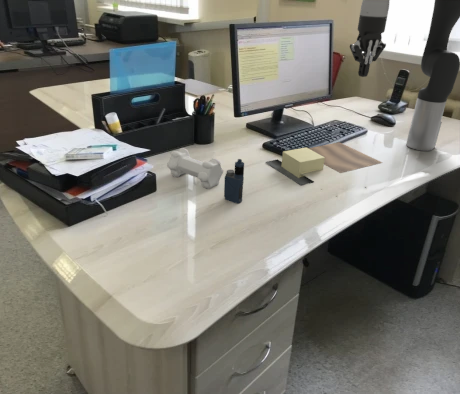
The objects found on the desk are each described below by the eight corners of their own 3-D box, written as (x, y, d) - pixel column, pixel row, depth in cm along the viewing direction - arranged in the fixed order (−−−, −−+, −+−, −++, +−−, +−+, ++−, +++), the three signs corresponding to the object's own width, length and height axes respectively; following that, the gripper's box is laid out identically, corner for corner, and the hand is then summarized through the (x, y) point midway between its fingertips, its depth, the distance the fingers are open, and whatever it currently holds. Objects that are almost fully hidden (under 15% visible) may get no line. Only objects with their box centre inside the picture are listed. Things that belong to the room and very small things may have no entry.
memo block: (304, 161, 138) (306, 147, 135) (322, 172, 131) (324, 157, 128) (281, 166, 134) (282, 151, 131) (298, 177, 127) (300, 162, 124)
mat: (300, 155, 143) (300, 154, 143) (337, 176, 129) (337, 175, 129) (265, 162, 137) (265, 161, 137) (300, 185, 123) (301, 184, 123)
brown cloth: (338, 146, 152) (339, 142, 151) (381, 166, 137) (382, 162, 136) (298, 154, 144) (298, 150, 143) (339, 177, 129) (340, 173, 128)
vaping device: (239, 205, 112) (241, 162, 106) (222, 199, 114) (223, 157, 108) (244, 201, 114) (246, 159, 108) (227, 195, 116) (228, 154, 110)
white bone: (223, 184, 123) (226, 158, 120) (204, 192, 117) (206, 164, 113) (184, 170, 131) (186, 145, 128) (164, 177, 124) (165, 150, 121)
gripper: (366, 16, 116) (355, 80, 124) (400, 15, 122) (387, 77, 130) (347, 13, 121) (337, 75, 129) (379, 12, 127) (369, 72, 135)
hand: (362, 76), depth 130 cm, fingers closed
